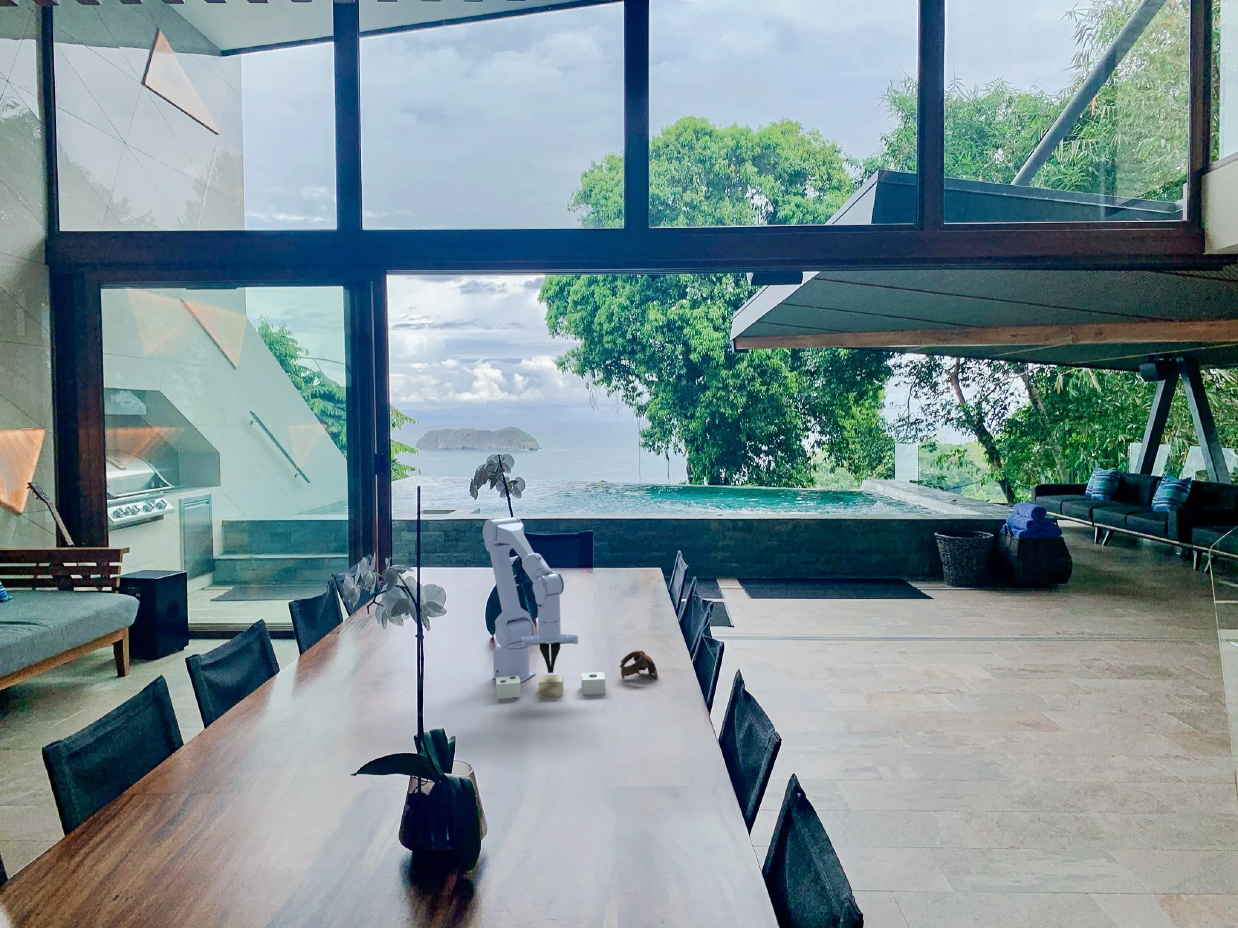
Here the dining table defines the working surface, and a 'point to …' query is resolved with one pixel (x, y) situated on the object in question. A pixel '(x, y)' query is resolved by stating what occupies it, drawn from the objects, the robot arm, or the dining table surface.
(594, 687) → the one-dot block
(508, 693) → the two-dot block
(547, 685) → the maple block
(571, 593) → the dining table surface
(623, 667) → the rusty brown arched frame
